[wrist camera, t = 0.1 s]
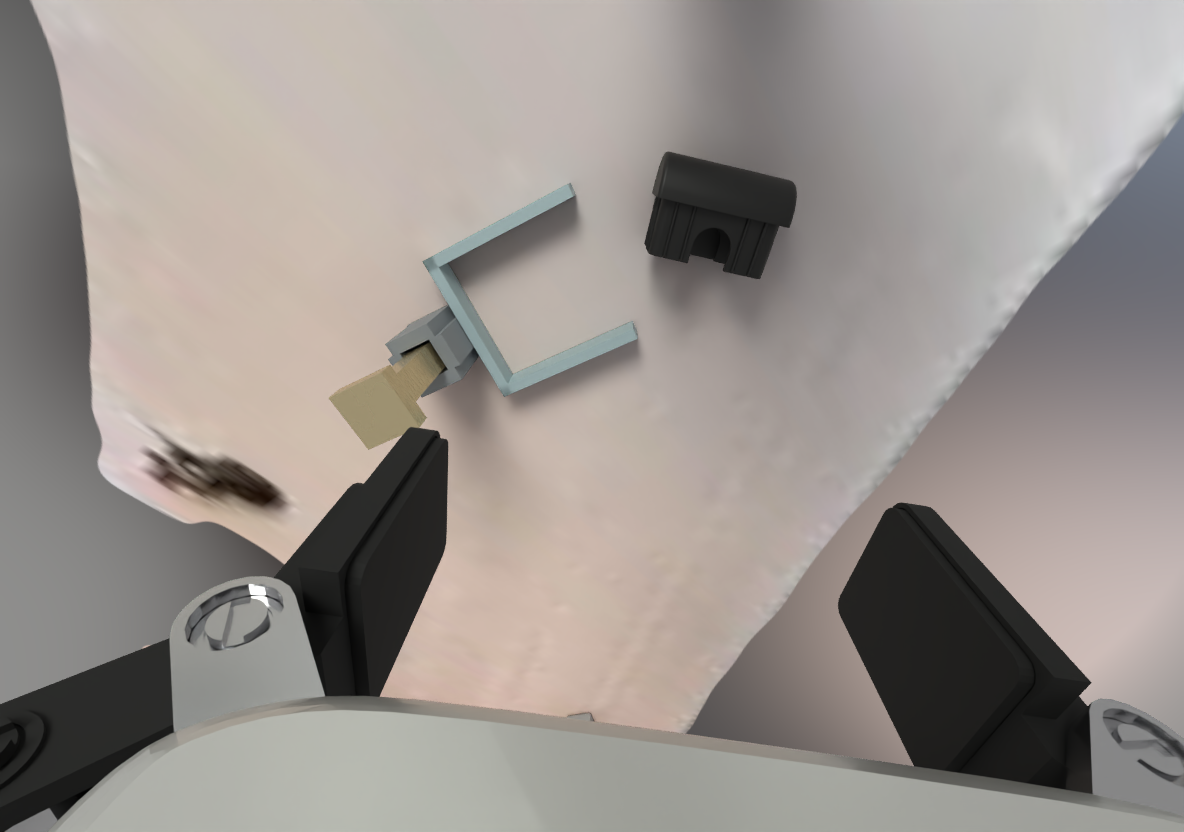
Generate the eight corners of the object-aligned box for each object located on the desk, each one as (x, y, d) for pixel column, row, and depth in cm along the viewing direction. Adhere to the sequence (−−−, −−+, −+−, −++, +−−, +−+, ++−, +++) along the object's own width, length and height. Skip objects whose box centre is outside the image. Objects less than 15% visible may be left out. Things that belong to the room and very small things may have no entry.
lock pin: (391, 346, 42) (328, 397, 33) (434, 325, 41) (381, 372, 32) (420, 389, 44) (368, 449, 35) (462, 370, 43) (419, 427, 34)
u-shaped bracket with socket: (383, 282, 46) (347, 300, 40) (570, 182, 41) (562, 186, 35) (463, 406, 52) (442, 438, 45) (636, 330, 47) (639, 355, 41)
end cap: (779, 179, 41) (807, 182, 35) (749, 266, 44) (770, 283, 38) (661, 151, 40) (668, 149, 34) (639, 241, 43) (643, 254, 37)
